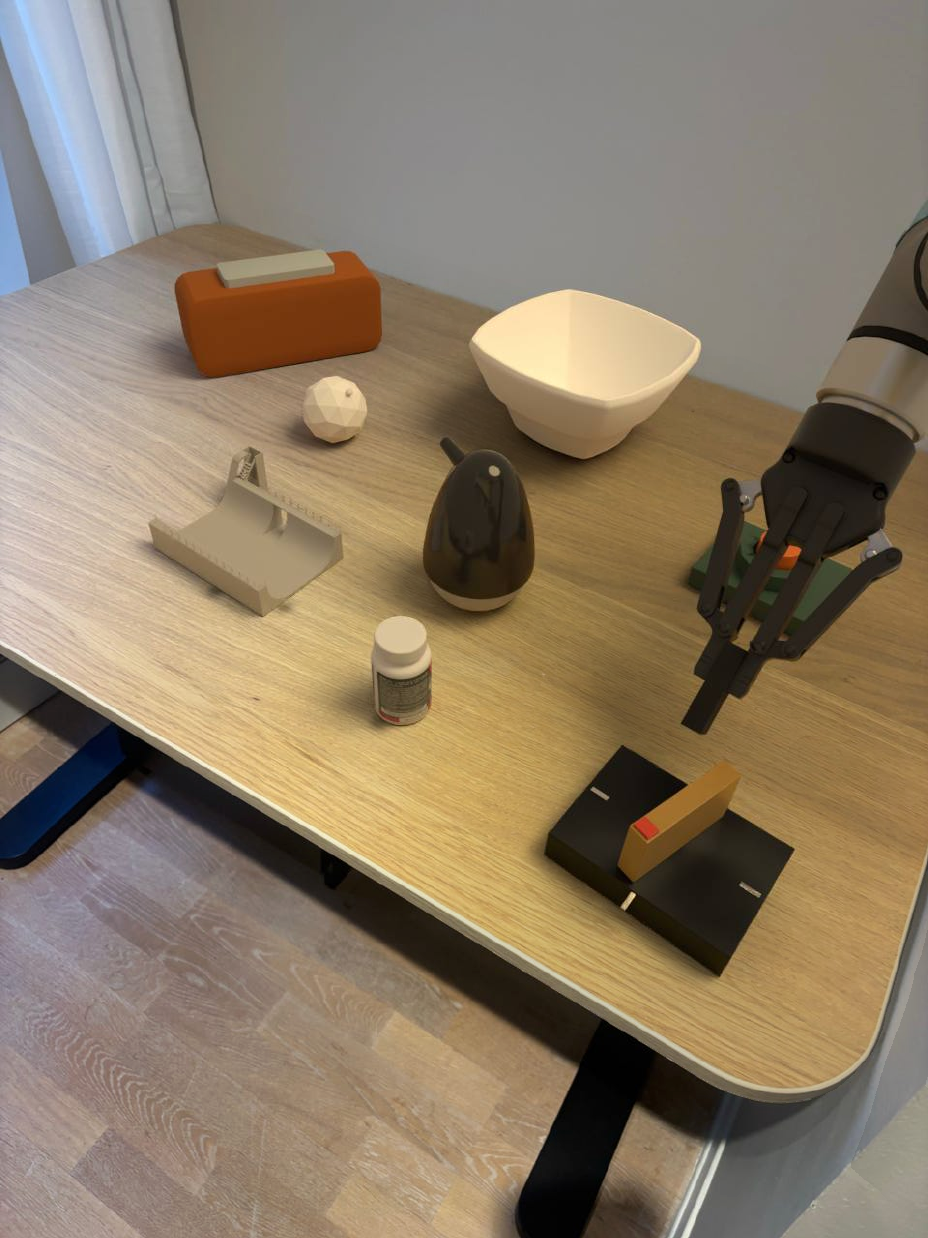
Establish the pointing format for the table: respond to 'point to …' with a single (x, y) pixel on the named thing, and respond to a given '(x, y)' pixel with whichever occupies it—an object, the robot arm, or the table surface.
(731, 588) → the button block
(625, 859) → the rectangular block
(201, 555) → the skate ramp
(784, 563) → the button
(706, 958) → the knob panel
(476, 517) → the pump dispenser
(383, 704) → the pill bottle
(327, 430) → the ornament
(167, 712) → the table surface
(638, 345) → the bowl
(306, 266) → the alarm clock
